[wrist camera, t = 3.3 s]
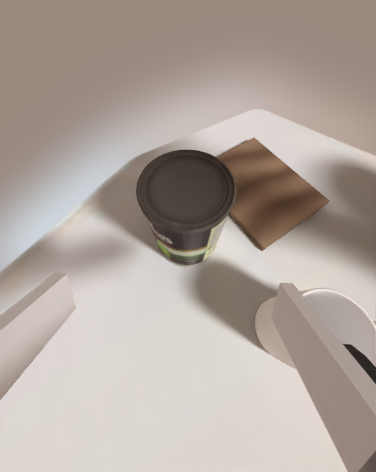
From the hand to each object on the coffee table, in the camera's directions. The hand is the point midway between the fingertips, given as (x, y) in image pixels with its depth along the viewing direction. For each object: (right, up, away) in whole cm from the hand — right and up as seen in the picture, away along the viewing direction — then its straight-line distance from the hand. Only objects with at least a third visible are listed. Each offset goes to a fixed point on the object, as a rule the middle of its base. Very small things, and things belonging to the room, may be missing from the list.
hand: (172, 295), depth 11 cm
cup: (+16, -9, +15) cm, 24 cm away
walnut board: (+14, +13, +24) cm, 31 cm away
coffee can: (+1, +3, +20) cm, 20 cm away
